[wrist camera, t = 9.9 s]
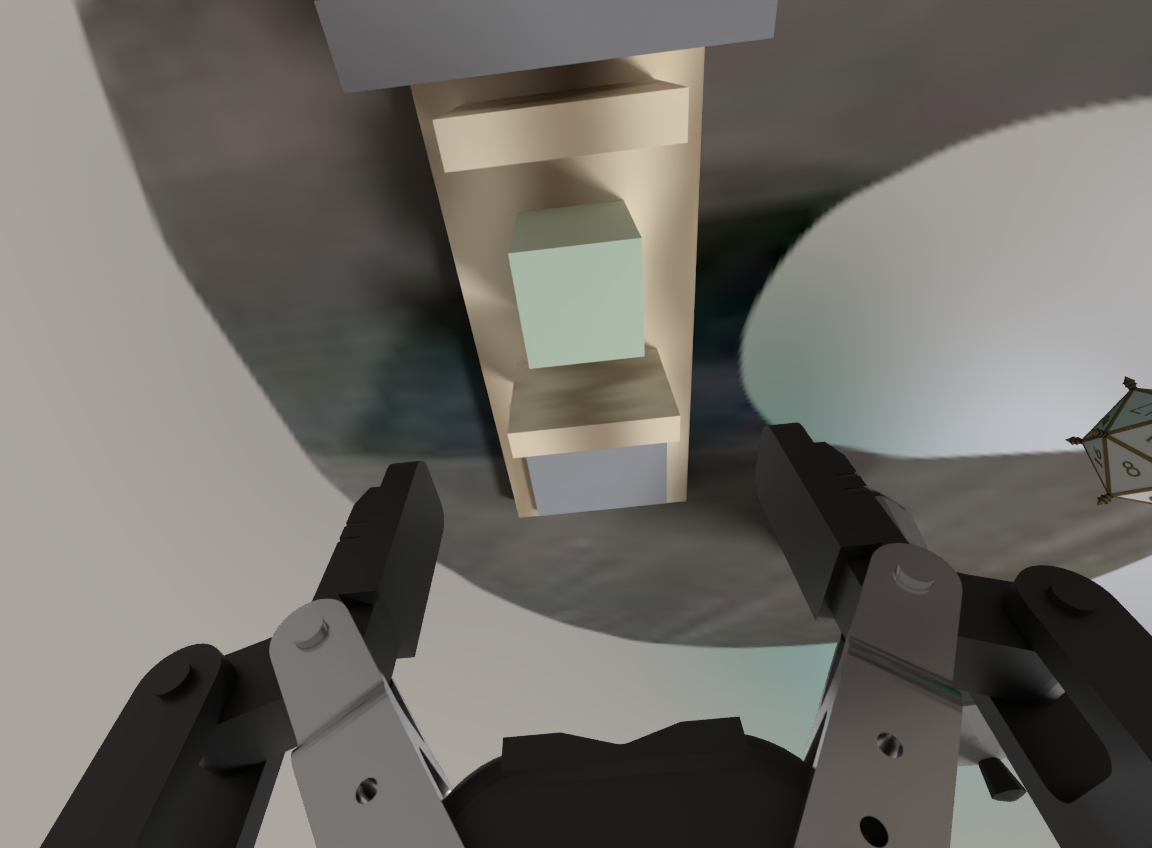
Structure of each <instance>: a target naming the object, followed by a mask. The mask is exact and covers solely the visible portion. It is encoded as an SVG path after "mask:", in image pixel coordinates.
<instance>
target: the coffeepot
mask: <svg viewBox="0 0 1152 848" xmlns="http://www.w3.org/2000/svg"><path fill="white" fill-rule="evenodd" d="M875 497H876V499H877V500H878V502H879V503H880V504H881V506H882V507H883V508H884V510H885V511H886V512H887V514H888V515H889V517H890V518H891V519H892V521H893V522H894V523H895V525H896V526H897V527H898V529H899V530H900V531H901V533H902V534H903V536H904V537H905V538H906V540H907V541H908V542H909V543H910V544H911V545H915V546H919V547H921V548H924V549H926V550H928V548H927V546H926V544H925V542H924V540H923V538H922V536H921V534H920V532H919V530H918V528H917V526H916V524H915V522H914V520H913V518H912V516H911V514H910V513H909V512H907V511H906V510H904V509H903V508H902V507H900V506H899V505H898V504H896V503H895V502H894V501H891V500H889V499H887V498H885V497H884V496H875ZM956 690H958V689H956ZM958 691H959V692H960V693H961V696H962V703H963V708H962V721H961V732H960V743H959V753H958V764H957V766H970V765H979V767H980V770H981V772H982V775H983V777H984V780H985V782H986V785H987V787H988V789H989V792H990V795H991V797H992V799H995V800H998V801H1007V802H1012V801H1016V800H1017V799H1019V798H1020V797H1021V796H1023V795H1024V794H1025V793H1026V790H1025V788H1024V787H1023V786H1022V785H1021V784H1020V783H1019V781H1018V780H1017V779H1016V778H1015V777H1014V776H1013V774H1012V773H1011V772H1010V771H1009V770H1008V768H1007V767H1006V766H1005V765H1004V764H1003V763H1002V762H1001V759H1003V758H1005V757H1007V756H1006V755H1005V753H1004V751H1003V750H1002V748H1001V746H1000V744H999V743H998V741H997V739H996V738H995V736H994V734H993V733H992V731H991V729H990V728H989V726H988V724H987V723H986V721H985V719H984V718H983V716H982V714H981V712H980V711H979V709H978V707H977V706H976V704H975V702H974V701H973V699H972V697H971V696H970V694H969V692H967V691H962V690H958Z"/></svg>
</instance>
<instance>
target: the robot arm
mask: <svg viewBox="0 0 1152 848" xmlns="http://www.w3.org/2000/svg"><path fill="white" fill-rule="evenodd" d="M755 487H756V492H757V496H758V499H759V501H760V503H761V506H762V508H763V510H764V512H765V514H766V516H767V518H768V520H769V523H770V525H771V527H772V529H773V531H774V533H775V535H776V537H777V540H778V542H779V544H780V546H781V548H782V550H783V552H784V555H785V557H786V559H787V561H788V563H789V565H790V567H791V569H792V572H793V574H794V576H795V578H796V580H797V582H798V584H799V586H800V589H801V591H802V593H803V595H804V597H805V599H806V601H807V603H808V606H809V608H810V610H811V612H812V614H813V616H814V618H815V621H822V620H832V619H835V620H836V622H837V624H838V626H839V628H840V630H841V634H840V637H839V639H838V643H837V646H836V649H835V653H834V656H833V660H832V663H831V666H830V670H829V673H828V677H827V680H826V683H825V687H824V690H823V693H822V697H821V700H820V704H819V707H818V710H817V714H816V717H815V720H814V723H813V726H812V729H811V732H810V734H809V737H808V740H807V743H806V746H805V749H804V753H803V756H802V759H800V758H799V757H797V756H795V755H794V754H792V753H791V752H789V751H787V750H786V749H784V748H782V747H780V746H778V745H776V744H773V743H771V742H769V741H766V740H763V739H760V738H757V737H754V736H750V735H745V734H744V731H743V728H742V724H741V720H740V717H730V718H719V719H707V720H697V721H685V722H679V723H677V724H674V725H672V726H669V727H667V728H664V729H662V730H660V731H657V732H654V733H652V734H649V735H647V736H644V737H642V738H639V739H637V740H634V741H632V742H629V743H626V744H614V743H609V742H604V741H599V740H594V739H590V738H584V737H580V736H575V735H570V734H565V733H550V734H539V735H528V736H517V737H505V738H503V747H502V756H500V757H498V758H495V759H493V760H491V761H489V762H488V763H486V764H484V765H482V766H480V767H479V768H478V769H476V770H475V771H474V772H472V773H471V774H469V775H468V776H467V777H466V778H465V779H464V780H463V781H461V782H460V783H459V784H458V785H457V786H456V787H455V788H454V789H453V788H452V786H451V784H450V783H449V781H448V779H447V777H446V775H445V774H444V772H443V770H442V768H441V767H440V765H439V763H438V762H437V760H436V758H435V757H434V755H433V753H432V751H431V749H430V748H429V746H428V744H427V742H426V740H425V738H424V736H423V734H422V733H421V731H420V729H419V727H418V725H417V723H416V721H415V719H414V717H413V716H412V713H411V711H410V710H409V708H408V706H407V704H406V702H405V700H404V698H403V696H402V694H401V693H400V691H399V689H398V687H397V685H396V683H395V681H394V679H393V678H392V674H393V669H394V666H395V662H396V659H398V658H409V657H415V652H416V649H417V644H418V640H419V635H420V631H421V626H422V622H423V618H424V613H425V609H426V604H427V600H428V596H429V591H430V587H431V582H432V578H433V573H434V569H435V565H436V560H437V556H438V551H439V547H440V542H441V538H442V534H443V528H444V514H443V508H442V505H441V502H440V499H439V496H438V494H437V491H436V488H435V486H434V483H433V480H432V478H431V475H430V472H429V470H428V467H427V465H426V463H425V462H424V461H415V462H405V463H395V464H391V465H389V467H388V469H387V471H386V473H385V476H384V478H383V481H382V484H381V486H380V487H372V488H369V489H368V490H367V491H366V493H365V494H364V495H363V496H362V497H361V498H360V499H359V500H358V501H357V502H356V503H355V504H354V506H353V509H352V511H351V513H350V516H349V518H348V520H347V523H346V524H347V526H346V527H344V529H343V532H342V534H341V536H340V542H338V543H337V546H336V548H335V550H334V553H333V555H332V557H331V559H330V562H329V564H328V566H327V568H326V571H325V573H324V575H323V577H322V580H321V582H320V584H319V587H318V589H317V591H316V593H315V596H314V598H313V600H312V602H310V603H308V604H305V605H303V606H302V607H300V608H298V609H297V610H295V611H294V612H293V613H291V614H290V615H289V616H288V617H287V618H286V619H285V620H284V621H283V622H282V623H281V625H279V627H278V628H277V630H276V631H275V633H274V635H273V637H271V638H269V639H267V640H264V641H261V642H259V643H256V644H253V645H251V646H248V647H246V648H243V649H241V650H238V651H235V652H233V653H230V654H227V655H225V656H224V655H223V654H222V653H221V652H220V651H219V650H218V649H217V648H215V647H214V646H212V645H209V644H195V645H191V646H188V647H185V648H182V649H180V650H178V651H176V652H174V653H173V654H171V655H169V656H167V657H166V658H164V659H163V660H162V661H160V662H159V663H158V664H157V665H155V666H154V667H153V668H152V669H151V670H150V671H149V672H148V673H147V674H146V675H145V676H144V678H143V679H142V680H141V681H140V683H139V684H138V686H137V687H136V689H135V690H134V692H133V694H132V695H131V697H130V699H129V700H128V702H127V704H126V705H125V707H124V709H123V710H122V712H121V714H120V715H119V717H118V719H117V720H116V722H115V723H114V725H113V727H112V729H111V730H110V732H109V733H108V735H107V737H106V739H105V740H104V742H103V744H102V745H101V747H100V749H99V750H98V752H97V753H96V755H95V757H94V758H93V760H92V762H91V763H90V765H89V767H88V768H87V770H86V772H85V774H84V775H83V777H82V779H81V780H80V782H79V783H78V785H77V787H76V788H75V790H74V792H73V794H72V795H71V797H70V798H69V800H68V802H67V804H66V805H65V807H64V808H63V810H62V812H61V813H60V815H59V817H58V818H57V820H56V822H55V823H54V825H53V827H52V828H51V830H50V832H49V833H48V835H47V837H46V838H45V840H44V842H43V843H42V845H41V847H40V848H254V845H255V842H256V839H257V836H258V833H259V830H260V827H261V824H262V821H263V818H264V815H265V812H266V809H267V806H268V803H269V799H270V796H271V794H272V791H273V788H274V784H275V781H276V778H277V775H278V772H279V769H280V766H281V763H282V760H283V757H284V754H285V752H286V751H288V750H290V749H292V748H295V747H297V746H298V747H297V748H296V749H294V750H293V751H292V753H291V759H292V766H293V770H294V774H295V777H296V780H297V783H298V787H299V790H300V793H301V797H302V800H303V804H304V807H305V810H306V813H307V817H308V820H309V823H310V827H311V830H312V833H313V837H314V840H315V843H316V847H317V848H950V840H951V829H952V818H953V807H954V796H955V786H956V775H957V764H958V753H959V743H960V732H961V721H962V708H963V703H962V696H961V693H960V692H959V691H958V690H962V691H967V692H969V694H970V696H971V697H972V699H973V701H974V702H975V704H976V706H977V707H978V709H979V711H980V712H981V714H982V716H983V718H984V719H985V721H986V723H987V724H988V726H989V728H990V729H991V731H992V733H993V734H994V736H995V738H996V739H997V741H998V743H999V744H1000V746H1001V748H1002V750H1003V751H1004V753H1005V755H1006V756H1007V758H1008V760H1009V761H1010V763H1011V764H1012V766H1013V768H1014V770H1015V771H1016V773H1017V775H1018V776H1019V778H1020V780H1021V781H1022V783H1023V785H1024V787H1025V788H1026V790H1027V792H1028V793H1029V795H1030V797H1031V798H1032V800H1033V802H1034V803H1035V805H1036V807H1037V808H1038V810H1039V812H1040V814H1041V815H1042V817H1043V818H1044V820H1045V822H1046V824H1047V825H1048V827H1049V829H1050V830H1051V832H1052V834H1053V835H1054V837H1055V839H1056V840H1057V842H1058V844H1059V846H1060V847H1061V848H1152V636H1151V635H1150V634H1149V633H1148V632H1147V631H1146V630H1145V629H1144V628H1143V627H1142V626H1141V624H1139V623H1138V622H1137V620H1136V619H1135V618H1134V617H1133V616H1132V615H1131V614H1130V613H1129V612H1128V611H1127V610H1126V609H1125V608H1124V607H1123V606H1122V605H1121V604H1120V603H1119V602H1118V601H1117V600H1116V599H1115V598H1114V597H1113V596H1112V595H1111V594H1110V593H1109V592H1108V591H1106V590H1105V589H1104V588H1103V587H1101V586H1100V585H1098V584H1096V583H1095V582H1093V581H1092V580H1090V579H1088V578H1086V577H1084V576H1082V575H1080V574H1077V573H1075V572H1072V571H1069V570H1066V569H1063V568H1059V567H1054V566H1046V565H1038V566H1031V567H1028V568H1026V569H1024V570H1022V571H1021V572H1020V573H1019V574H1018V576H1017V577H1016V579H1015V580H1014V582H1009V581H1003V580H997V579H991V578H985V577H979V576H973V575H967V574H963V573H958V572H955V570H954V569H953V568H952V567H951V566H950V565H949V564H948V563H947V562H946V561H945V560H943V559H942V558H941V557H939V556H938V555H936V554H935V553H933V552H931V551H929V550H926V549H924V548H921V547H919V546H915V545H911V544H910V543H909V542H908V541H907V540H906V538H905V537H904V536H903V534H902V533H901V531H900V530H899V529H898V527H897V526H896V525H895V523H894V522H893V521H892V519H891V518H890V517H889V515H888V514H887V512H886V511H885V510H884V508H883V507H882V506H881V504H880V503H879V502H878V500H877V499H876V497H875V496H874V495H873V493H872V492H871V491H870V490H868V489H867V485H866V484H865V483H864V481H863V480H862V478H861V477H860V476H857V472H856V470H855V469H854V468H853V466H852V465H851V464H850V462H849V461H848V459H847V458H846V457H845V455H843V454H842V453H840V452H839V451H837V450H836V449H834V448H833V447H831V446H830V445H829V444H827V443H826V442H818V443H814V442H813V441H812V439H811V438H810V436H809V435H808V434H807V432H806V431H805V429H804V428H803V426H802V425H801V424H800V423H788V424H778V425H768V426H764V427H763V429H762V432H761V438H760V444H759V451H758V457H757V463H756V470H755ZM956 689H958V690H956Z"/></svg>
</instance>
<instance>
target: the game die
mask: <svg viewBox="0 0 1152 848" xmlns="http://www.w3.org/2000/svg"><path fill="white" fill-rule="evenodd" d="M1134 381H1135V380H1133V379H1130V378H1128V377H1126V376H1125V379H1124V383H1123V384H1124V385H1125V387H1127V388H1128V389H1129V392H1128V393H1127V394H1126V395H1125V396H1124V397H1123V398H1122V399H1121V400H1120V401H1119V402H1118V403H1117V404H1116V405H1115V406H1114V407H1113V408H1112V409H1111V410H1110V411H1109V412H1108V413H1107V414H1106V415H1105V416H1104V417H1103V418H1102V419H1101V420H1100V421H1099V422H1098V424H1097V425H1096V426H1095V427H1094V428H1093V429H1092V430H1091V431H1090V432H1089V433H1088V434H1087V435H1086V436H1085V437H1084V438H1083V439H1081V438H1079V437H1077V438H1075V437H1071V438H1069V439H1066V440H1067V441H1068V442H1070V443H1071V444H1072V445H1073V444H1076V445H1078V444H1083V446H1084V448H1085V450H1086V452H1087V454H1088V456H1089V458H1090V460H1091V462H1092V464H1093V466H1094V468H1095V470H1096V472H1097V474H1098V476H1099V478H1100V480H1101V482H1102V484H1103V486H1104V488H1105V490H1106V492H1107V494H1105V495H1101V497H1098V502H1097V505H1101V504H1108V502H1109V501H1111V499H1112V498H1113V497H1115V498H1120V499H1126V500H1131V501H1137V502H1142V503H1148V504H1152V389H1141V388H1137V387H1136V384H1137V383H1135V382H1134Z"/></svg>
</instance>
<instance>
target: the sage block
mask: <svg viewBox="0 0 1152 848" xmlns="http://www.w3.org/2000/svg"><path fill="white" fill-rule="evenodd" d="M508 257H509V262H510V267H511V273H512V278H513V284H514V289H515V294H516V300H517V305H518V310H519V316H520V321H521V326H522V332H523V337H524V343H525V348H526V353H527V359H528V364H529V369H534V368H543V367H552V366H561V365H571V364H580V363H589V362H598V361H607V360H616V359H626V358H635V357H644V356H645V352H644V311H643V271H642V237H641V235H640V233H639V231H638V229H637V227H636V225H635V223H634V221H633V218H632V216H631V214H630V212H629V210H628V208H627V206H626V204H625V202H624V200H618V201H610V202H602V203H593V204H585V205H577V206H568V207H560V208H552V209H543V210H535V211H527V212H518V213H517V217H516V222H515V226H514V230H513V234H512V238H511V243H510V247H509V251H508Z"/></svg>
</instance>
